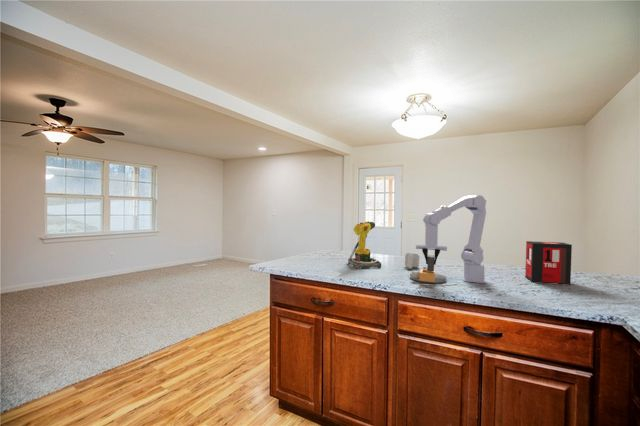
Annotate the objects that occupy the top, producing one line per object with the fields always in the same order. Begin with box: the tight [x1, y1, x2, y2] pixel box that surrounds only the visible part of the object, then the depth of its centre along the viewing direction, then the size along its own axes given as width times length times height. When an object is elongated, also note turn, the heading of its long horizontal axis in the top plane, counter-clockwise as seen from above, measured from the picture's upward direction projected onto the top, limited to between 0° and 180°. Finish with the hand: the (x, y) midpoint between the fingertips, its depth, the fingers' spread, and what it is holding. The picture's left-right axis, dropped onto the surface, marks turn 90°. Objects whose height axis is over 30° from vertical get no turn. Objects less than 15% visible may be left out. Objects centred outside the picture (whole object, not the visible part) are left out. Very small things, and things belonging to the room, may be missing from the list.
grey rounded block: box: [404, 252, 420, 270], centre depth 185 cm, size 8×10×10 cm
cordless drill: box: [347, 221, 382, 270], centre depth 192 cm, size 18×19×28 cm
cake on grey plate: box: [409, 266, 447, 285], centre depth 159 cm, size 18×18×6 cm
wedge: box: [426, 254, 435, 271], centre depth 150 cm, size 3×4×7 cm, turn 158°
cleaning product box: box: [524, 240, 573, 286], centre depth 155 cm, size 16×9×20 cm, turn 73°
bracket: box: [411, 268, 436, 282], centre depth 153 cm, size 11×9×4 cm
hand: (430, 264), depth 151 cm, fingers closed on wedge, 3 cm apart
